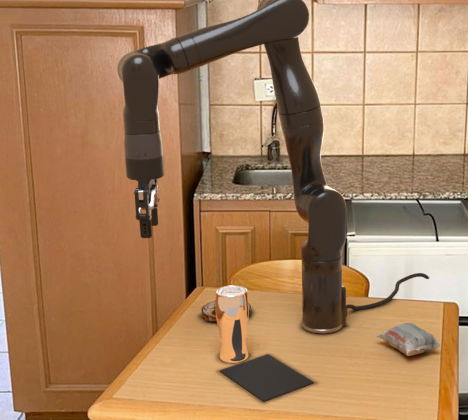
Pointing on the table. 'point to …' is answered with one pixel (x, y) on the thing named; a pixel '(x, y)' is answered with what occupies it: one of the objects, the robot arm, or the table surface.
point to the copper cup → (232, 322)
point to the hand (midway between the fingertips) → (149, 231)
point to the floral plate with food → (213, 311)
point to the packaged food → (409, 339)
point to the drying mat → (266, 377)
